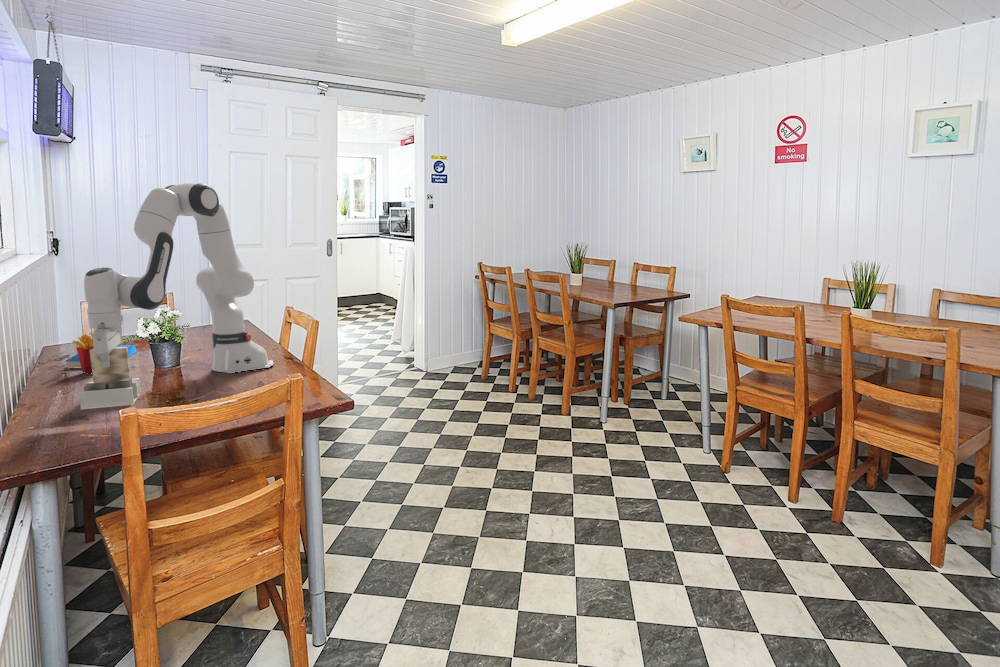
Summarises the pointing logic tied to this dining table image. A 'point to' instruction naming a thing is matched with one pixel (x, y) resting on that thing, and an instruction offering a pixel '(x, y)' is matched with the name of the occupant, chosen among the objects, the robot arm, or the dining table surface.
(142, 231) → the robot arm
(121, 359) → the birch board
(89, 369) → the french fries
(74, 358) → the book
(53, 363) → the dining table surface
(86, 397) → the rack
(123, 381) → the offcut tall
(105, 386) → the offcut short
